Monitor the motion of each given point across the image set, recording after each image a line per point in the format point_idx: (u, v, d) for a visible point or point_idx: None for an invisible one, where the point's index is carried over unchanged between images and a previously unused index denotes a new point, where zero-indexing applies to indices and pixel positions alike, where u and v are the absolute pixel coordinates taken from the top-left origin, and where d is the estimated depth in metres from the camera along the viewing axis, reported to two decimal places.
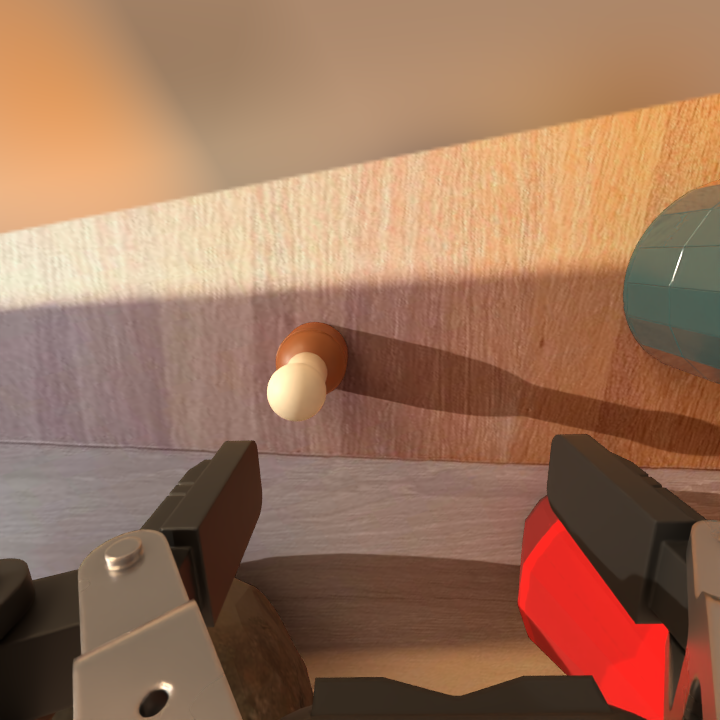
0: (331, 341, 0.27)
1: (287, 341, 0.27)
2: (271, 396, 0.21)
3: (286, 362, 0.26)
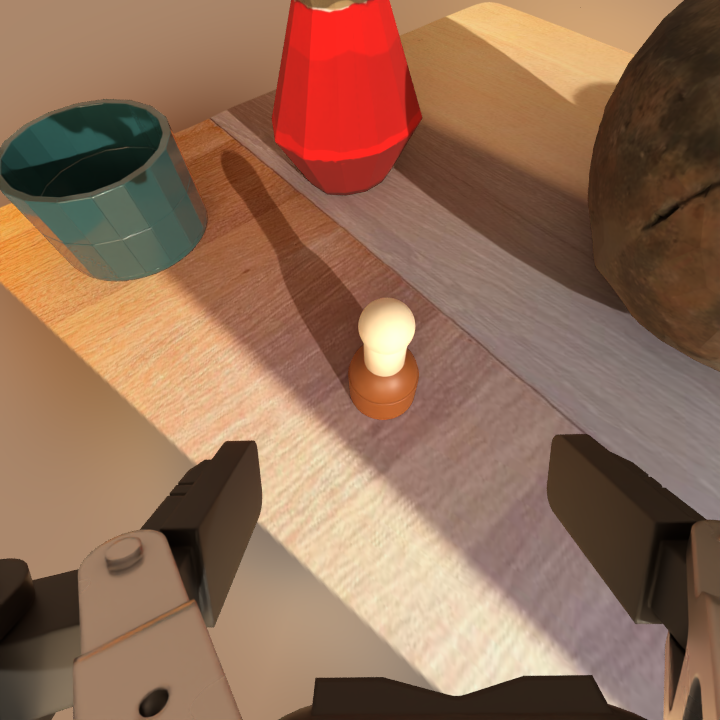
0: (350, 369, 0.28)
1: (379, 397, 0.27)
2: (401, 329, 0.22)
3: (391, 377, 0.26)
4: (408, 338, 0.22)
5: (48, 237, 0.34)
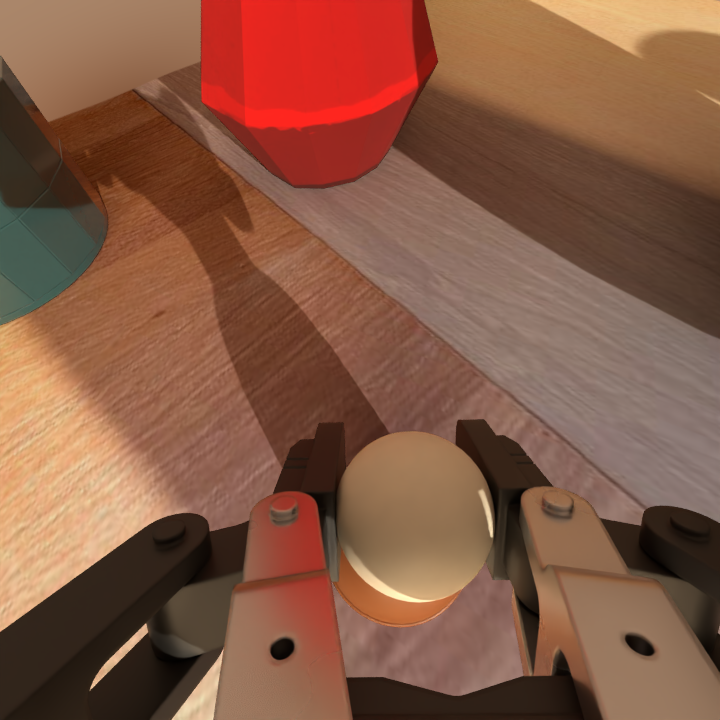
0: None
1: (392, 620, 0.12)
2: (465, 557, 0.07)
3: None
4: (482, 565, 0.08)
5: None
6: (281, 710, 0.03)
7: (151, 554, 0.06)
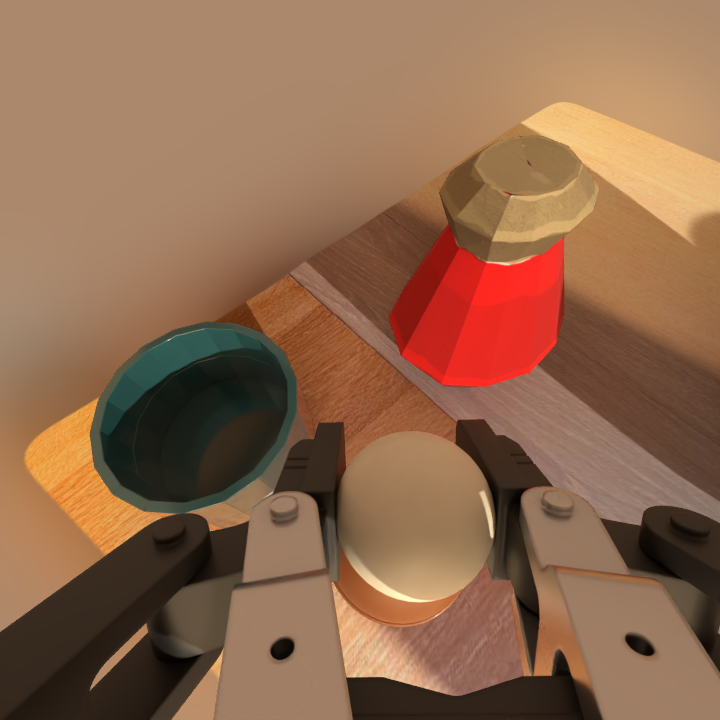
0: None
1: (392, 619, 0.12)
2: (465, 556, 0.07)
3: None
4: (482, 565, 0.08)
5: None
6: (281, 710, 0.03)
7: (151, 554, 0.06)
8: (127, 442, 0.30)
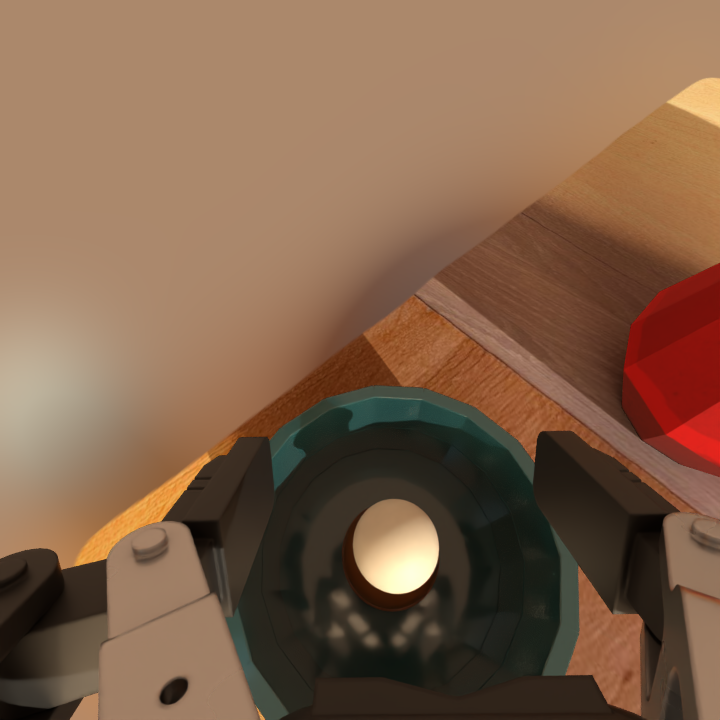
0: (344, 555, 0.20)
1: (386, 606, 0.19)
2: (419, 570, 0.14)
3: None
4: (430, 574, 0.15)
5: None
6: None
7: None
8: (257, 586, 0.18)
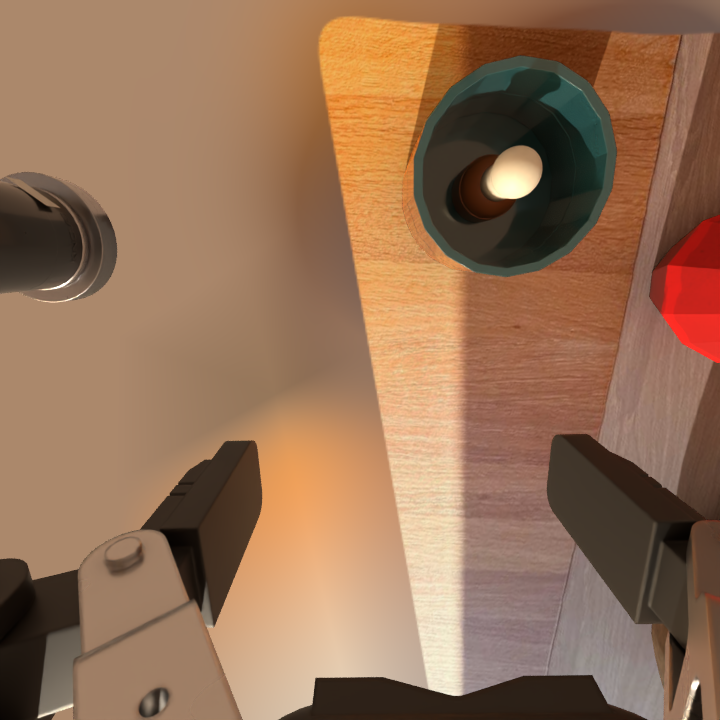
0: (471, 165, 0.32)
1: (469, 204, 0.33)
2: (518, 189, 0.27)
3: (487, 201, 0.32)
4: (517, 197, 0.27)
5: (409, 210, 0.33)
6: None
7: None
8: None
